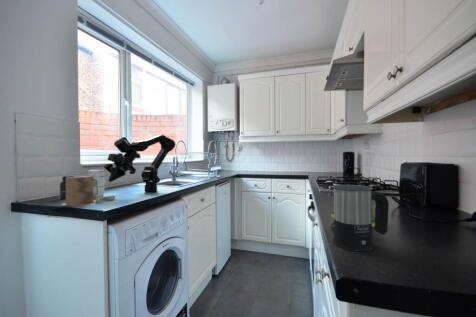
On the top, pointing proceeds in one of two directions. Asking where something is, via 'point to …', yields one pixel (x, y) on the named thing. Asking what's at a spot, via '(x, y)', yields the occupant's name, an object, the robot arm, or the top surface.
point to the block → (79, 190)
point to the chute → (99, 200)
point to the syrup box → (97, 181)
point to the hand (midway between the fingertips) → (109, 181)
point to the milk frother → (357, 216)
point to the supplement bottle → (63, 187)
